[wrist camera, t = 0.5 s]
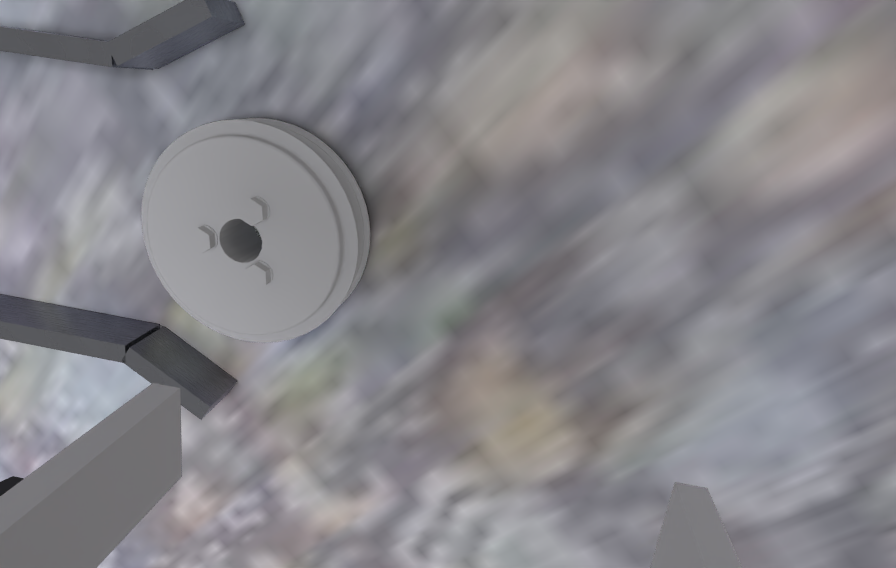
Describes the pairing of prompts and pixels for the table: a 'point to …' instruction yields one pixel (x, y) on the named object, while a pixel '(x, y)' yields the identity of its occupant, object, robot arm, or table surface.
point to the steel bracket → (106, 334)
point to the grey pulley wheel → (273, 214)
